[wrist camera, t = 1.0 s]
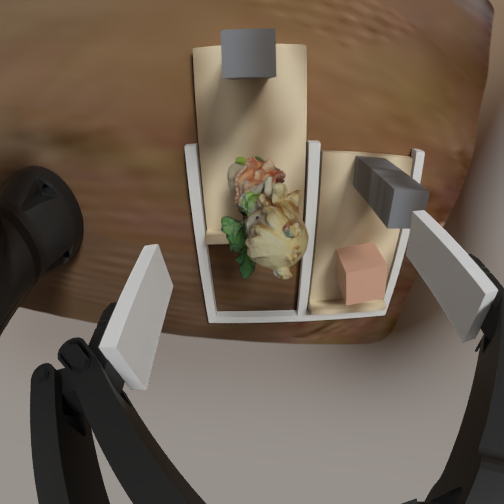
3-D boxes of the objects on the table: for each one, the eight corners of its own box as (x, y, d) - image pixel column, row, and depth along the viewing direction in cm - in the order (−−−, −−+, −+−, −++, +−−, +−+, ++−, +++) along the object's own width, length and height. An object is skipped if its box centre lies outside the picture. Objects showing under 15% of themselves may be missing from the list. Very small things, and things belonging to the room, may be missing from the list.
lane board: (209, 317, 43) (208, 322, 42) (186, 144, 30) (184, 146, 29) (382, 309, 43) (384, 315, 42) (420, 149, 29) (424, 152, 28)
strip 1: (209, 237, 36) (195, 297, 27) (194, 49, 24) (164, 34, 15) (300, 235, 36) (316, 295, 27) (304, 46, 24) (331, 29, 15)
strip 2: (307, 305, 42) (319, 366, 33) (320, 150, 30) (351, 184, 21) (377, 300, 42) (401, 356, 33) (409, 156, 30) (461, 191, 21)
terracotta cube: (337, 280, 38) (346, 305, 34) (335, 248, 36) (346, 273, 31) (372, 273, 38) (384, 297, 34) (373, 242, 35) (387, 265, 31)
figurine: (249, 135, 29) (251, 175, 17) (306, 174, 32) (346, 240, 19) (203, 201, 33) (177, 281, 20) (258, 234, 36) (265, 325, 23)
